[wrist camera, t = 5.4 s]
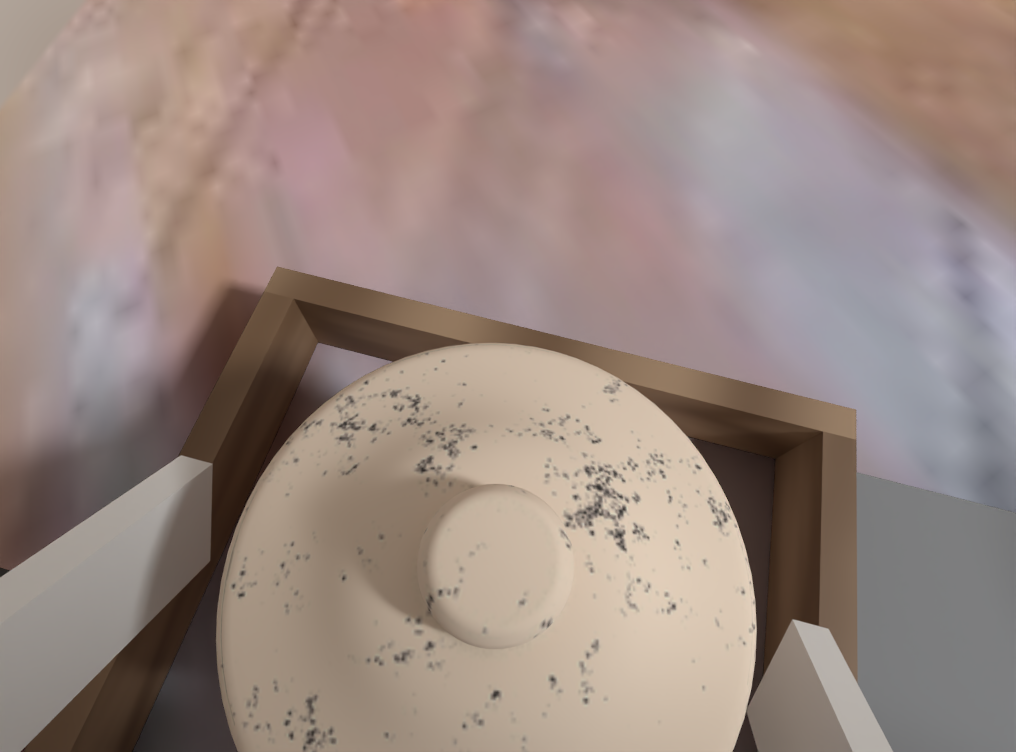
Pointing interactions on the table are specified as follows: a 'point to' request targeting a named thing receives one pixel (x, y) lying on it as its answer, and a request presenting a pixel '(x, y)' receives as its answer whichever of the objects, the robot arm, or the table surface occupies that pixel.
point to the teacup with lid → (487, 571)
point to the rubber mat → (936, 618)
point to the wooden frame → (421, 327)
